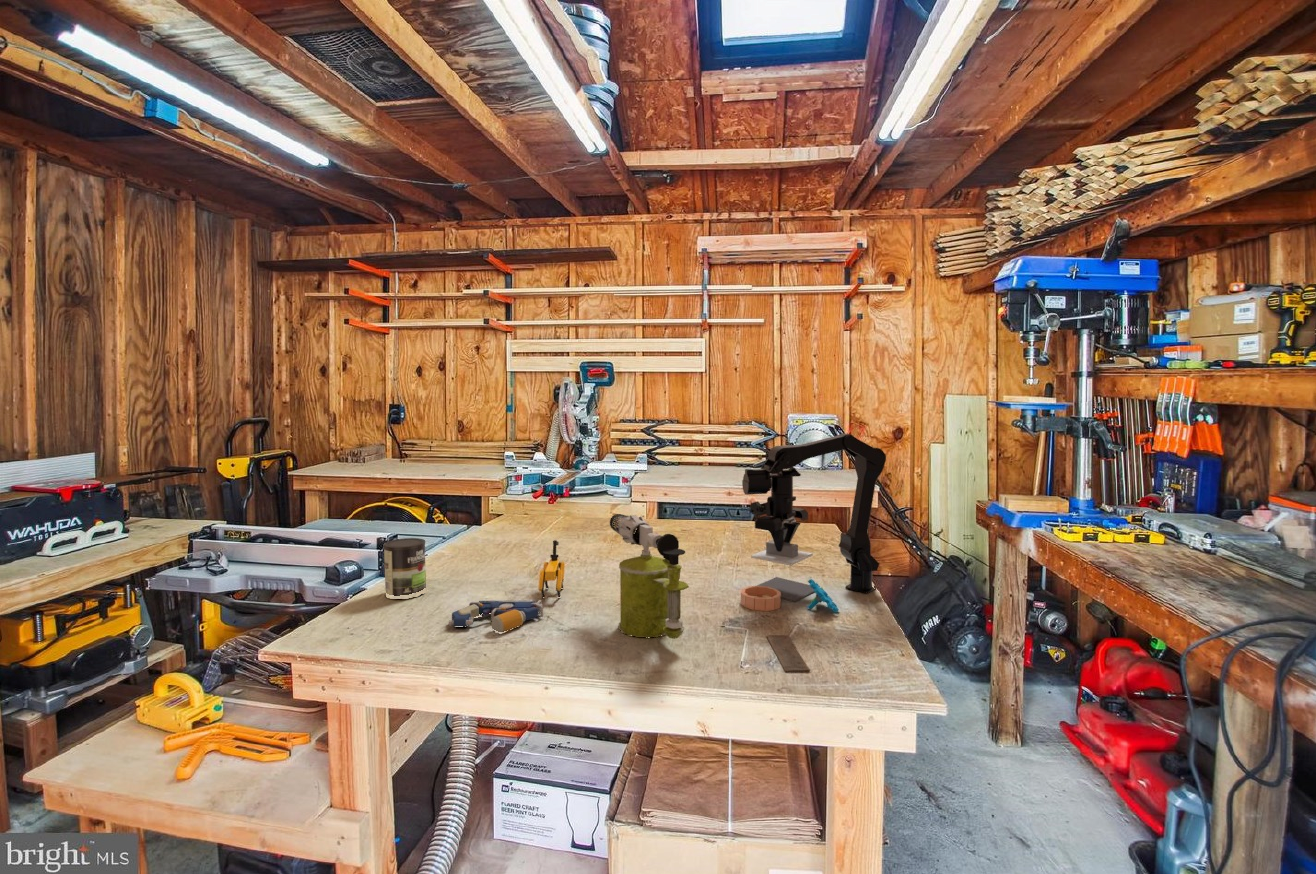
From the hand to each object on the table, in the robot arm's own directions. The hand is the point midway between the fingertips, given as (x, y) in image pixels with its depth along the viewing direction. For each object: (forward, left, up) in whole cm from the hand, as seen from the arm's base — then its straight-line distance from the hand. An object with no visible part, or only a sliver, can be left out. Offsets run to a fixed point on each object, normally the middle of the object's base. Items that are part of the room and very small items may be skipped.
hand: (782, 550), depth 157 cm
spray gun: (+64, -38, -12) cm, 76 cm away
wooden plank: (+32, +21, -12) cm, 40 cm away
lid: (0, 0, -2) cm, 2 cm away
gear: (+4, +14, -12) cm, 19 cm away
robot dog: (+42, -46, -12) cm, 63 cm away
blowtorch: (+42, -11, -12) cm, 45 cm away
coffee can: (+70, -74, -12) cm, 102 cm away
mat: (-3, -1, -12) cm, 12 cm away
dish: (+11, 0, -12) cm, 16 cm away
